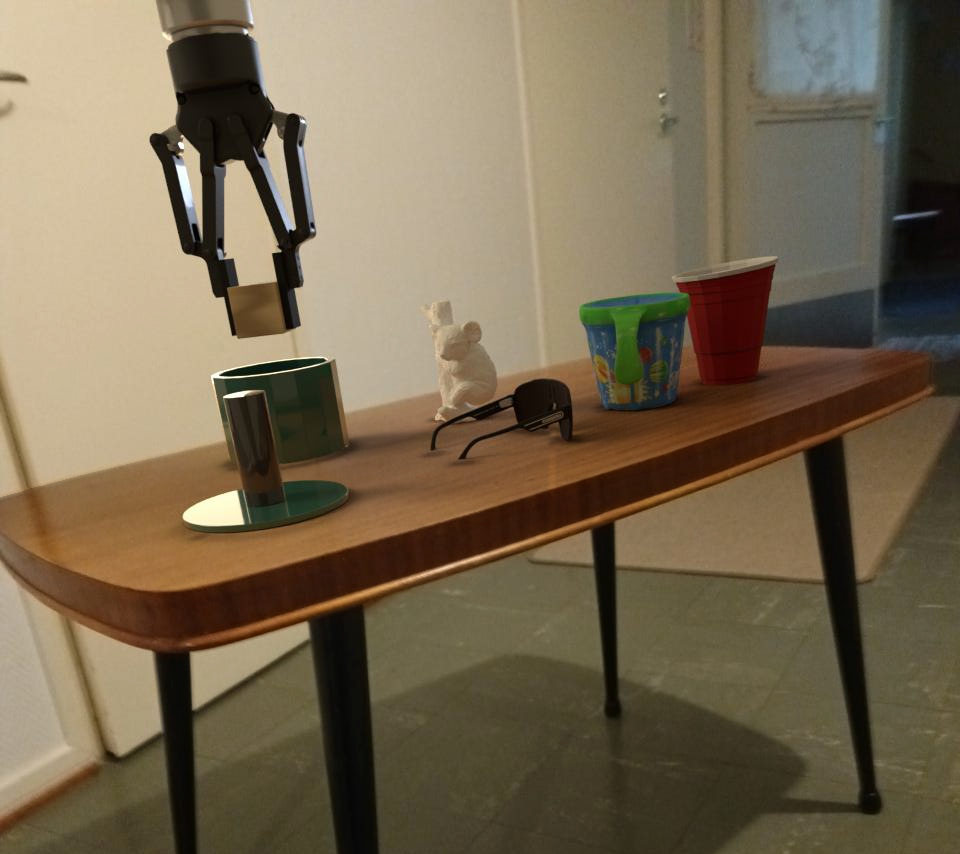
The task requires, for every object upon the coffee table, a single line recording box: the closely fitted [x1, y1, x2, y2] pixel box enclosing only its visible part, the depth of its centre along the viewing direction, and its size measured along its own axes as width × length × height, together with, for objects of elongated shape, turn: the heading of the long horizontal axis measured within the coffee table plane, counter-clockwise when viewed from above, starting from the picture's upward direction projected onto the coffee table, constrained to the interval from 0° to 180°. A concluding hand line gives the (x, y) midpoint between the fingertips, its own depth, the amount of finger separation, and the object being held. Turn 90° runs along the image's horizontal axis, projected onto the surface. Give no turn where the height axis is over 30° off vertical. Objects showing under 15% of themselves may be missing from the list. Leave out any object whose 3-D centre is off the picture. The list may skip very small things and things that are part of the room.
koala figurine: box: [420, 298, 498, 425], centre depth 100 cm, size 8×7×12 cm
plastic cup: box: [671, 255, 780, 386], centre depth 103 cm, size 11×11×12 cm
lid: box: [182, 390, 350, 534], centre depth 73 cm, size 12×12×9 cm
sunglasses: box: [430, 377, 574, 460], centre depth 86 cm, size 10×12×5 cm
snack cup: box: [578, 292, 690, 412], centre depth 96 cm, size 16×10×10 cm
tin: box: [210, 356, 350, 466], centre depth 93 cm, size 11×11×8 cm
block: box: [227, 280, 296, 340], centre depth 90 cm, size 4×4×4 cm
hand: (266, 330), depth 90 cm, fingers closed on block, 4 cm apart
